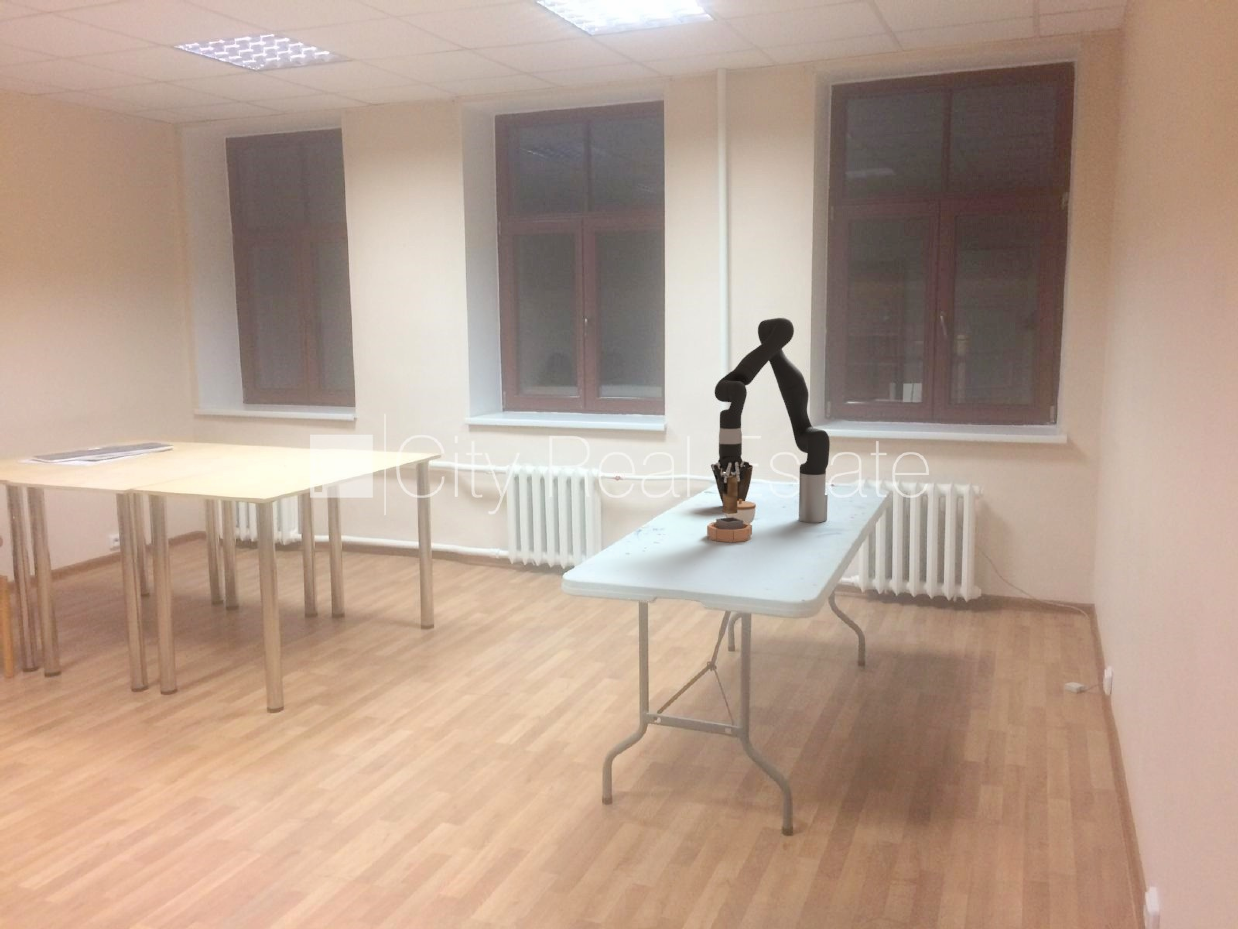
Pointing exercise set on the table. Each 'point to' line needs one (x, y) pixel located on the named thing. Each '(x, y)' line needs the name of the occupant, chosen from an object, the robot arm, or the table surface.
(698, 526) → the table surface
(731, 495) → the brown long rectangular block
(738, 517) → the lidded jar
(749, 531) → the candle pot
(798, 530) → the table surface
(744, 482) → the plant pot
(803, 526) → the table surface
